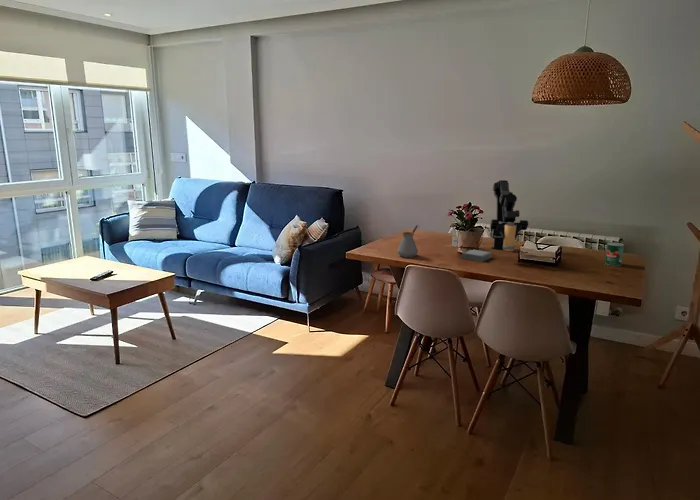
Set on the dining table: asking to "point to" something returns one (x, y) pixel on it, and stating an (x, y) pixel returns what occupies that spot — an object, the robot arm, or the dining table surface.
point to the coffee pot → (408, 245)
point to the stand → (476, 255)
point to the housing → (509, 237)
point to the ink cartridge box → (454, 239)
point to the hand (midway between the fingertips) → (509, 238)
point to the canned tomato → (614, 253)
